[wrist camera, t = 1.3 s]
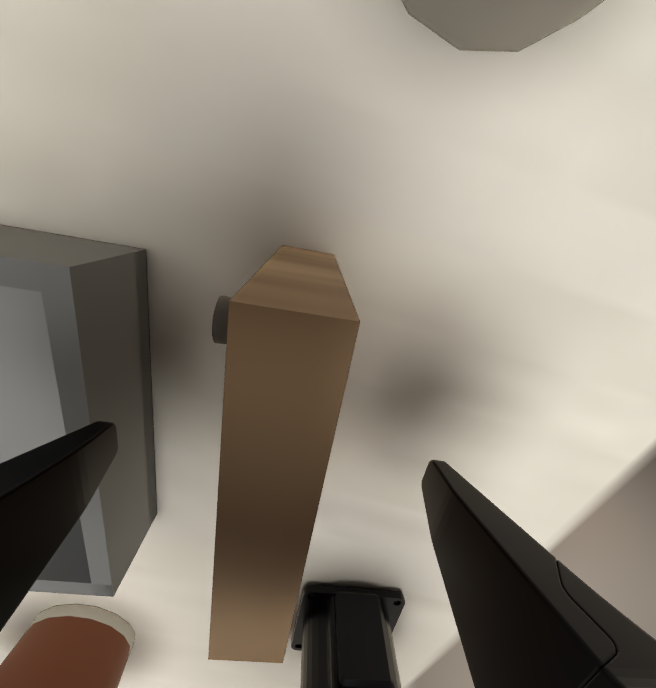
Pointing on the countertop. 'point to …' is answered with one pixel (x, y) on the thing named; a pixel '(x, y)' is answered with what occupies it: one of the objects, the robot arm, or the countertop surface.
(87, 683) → the coffee cup
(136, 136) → the countertop surface
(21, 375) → the carcass
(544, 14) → the cup
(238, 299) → the door
